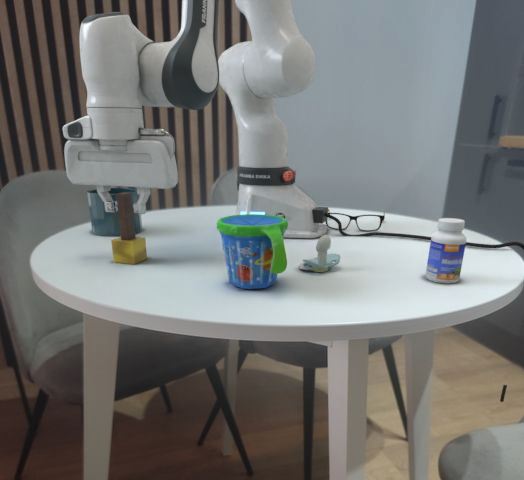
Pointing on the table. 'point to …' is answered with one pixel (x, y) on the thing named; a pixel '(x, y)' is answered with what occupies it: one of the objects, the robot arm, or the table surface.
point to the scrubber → (127, 234)
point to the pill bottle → (446, 251)
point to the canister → (110, 213)
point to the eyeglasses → (356, 221)
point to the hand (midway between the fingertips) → (125, 212)
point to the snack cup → (253, 249)
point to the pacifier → (321, 257)
